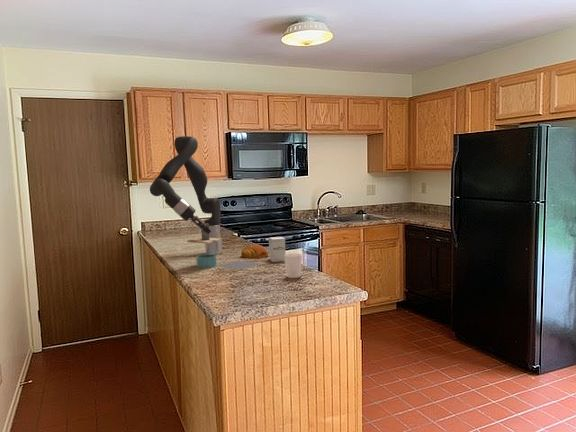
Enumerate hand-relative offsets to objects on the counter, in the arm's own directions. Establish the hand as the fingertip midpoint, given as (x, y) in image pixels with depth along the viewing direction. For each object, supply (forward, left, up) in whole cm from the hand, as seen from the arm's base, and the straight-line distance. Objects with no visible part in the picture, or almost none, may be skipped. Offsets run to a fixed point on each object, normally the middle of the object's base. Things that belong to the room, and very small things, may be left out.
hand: (209, 232), depth 230 cm
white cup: (+2, +51, -18) cm, 54 cm away
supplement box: (-25, +26, -18) cm, 40 cm away
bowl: (+1, -1, -18) cm, 18 cm away
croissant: (-30, +8, -18) cm, 36 cm away
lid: (+1, -1, -5) cm, 5 cm away
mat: (-7, +14, -18) cm, 23 cm away
